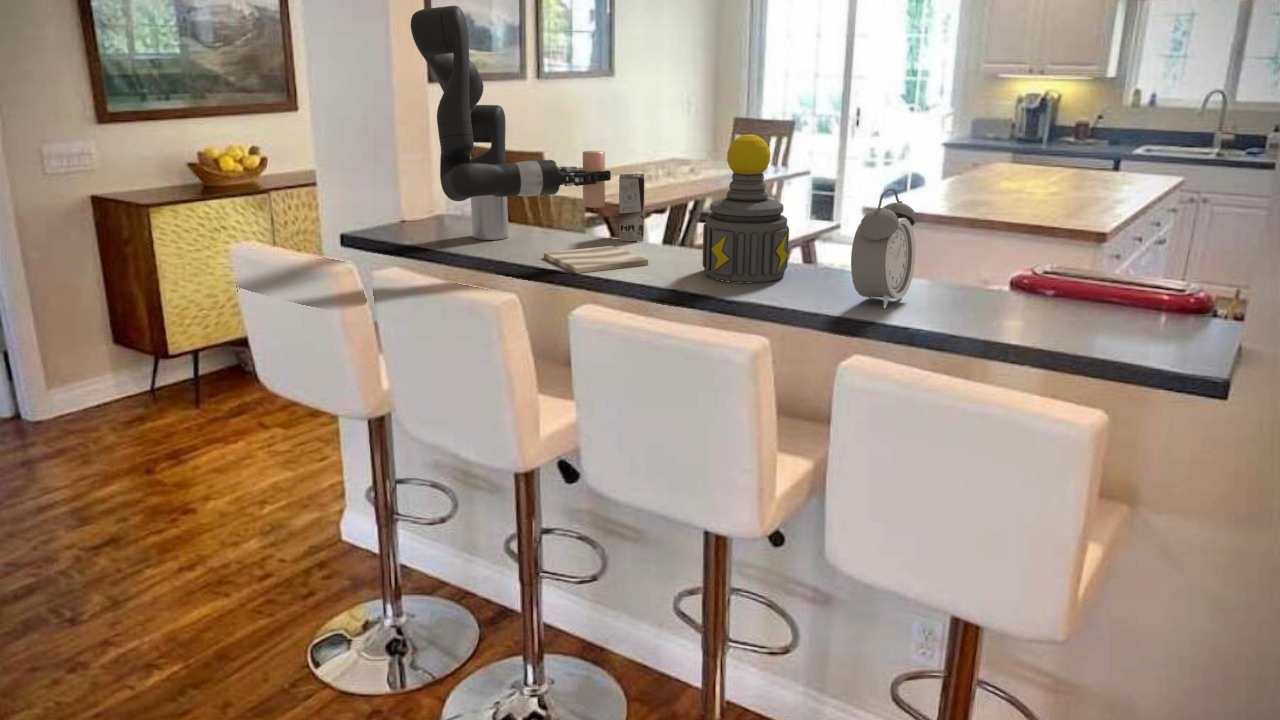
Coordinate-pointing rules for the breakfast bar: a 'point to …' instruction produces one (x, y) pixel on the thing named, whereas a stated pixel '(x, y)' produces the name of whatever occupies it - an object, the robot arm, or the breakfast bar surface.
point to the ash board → (595, 259)
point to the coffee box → (631, 207)
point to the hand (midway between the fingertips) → (604, 174)
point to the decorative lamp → (746, 221)
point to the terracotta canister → (596, 192)
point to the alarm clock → (884, 251)
